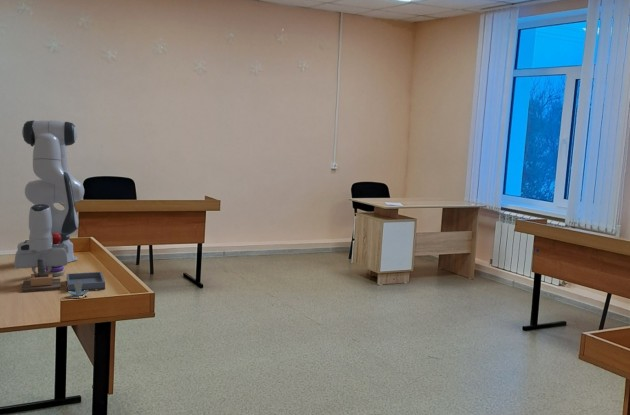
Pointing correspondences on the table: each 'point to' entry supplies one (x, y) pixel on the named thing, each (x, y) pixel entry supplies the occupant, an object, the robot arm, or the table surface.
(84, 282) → the tray
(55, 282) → the post stand
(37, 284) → the light brown flat block
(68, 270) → the table surface
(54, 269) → the stacking toy
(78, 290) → the pacifier
